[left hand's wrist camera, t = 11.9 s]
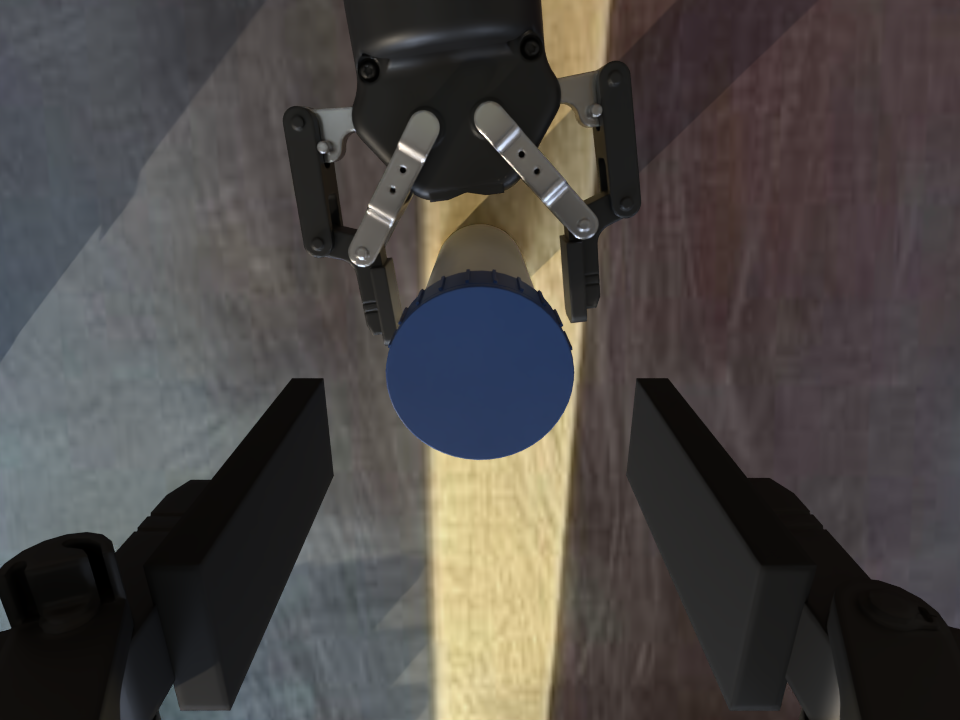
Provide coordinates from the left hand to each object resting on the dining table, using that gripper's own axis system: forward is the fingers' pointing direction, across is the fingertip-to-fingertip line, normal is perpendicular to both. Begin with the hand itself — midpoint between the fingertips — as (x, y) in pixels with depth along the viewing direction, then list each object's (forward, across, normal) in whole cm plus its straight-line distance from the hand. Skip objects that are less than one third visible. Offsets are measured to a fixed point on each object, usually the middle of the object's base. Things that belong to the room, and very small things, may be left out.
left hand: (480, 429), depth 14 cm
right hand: (+13, 0, -2) cm, 13 cm away
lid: (+4, 0, 0) cm, 4 cm away
